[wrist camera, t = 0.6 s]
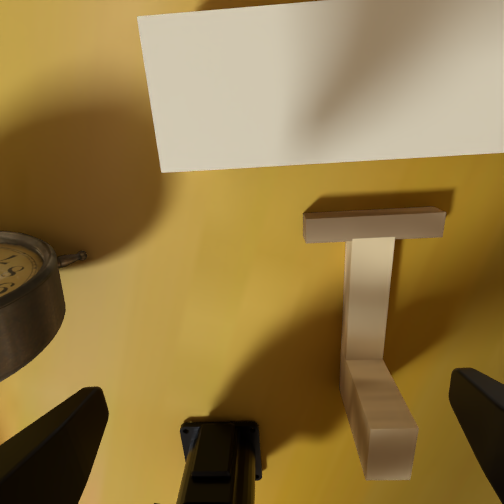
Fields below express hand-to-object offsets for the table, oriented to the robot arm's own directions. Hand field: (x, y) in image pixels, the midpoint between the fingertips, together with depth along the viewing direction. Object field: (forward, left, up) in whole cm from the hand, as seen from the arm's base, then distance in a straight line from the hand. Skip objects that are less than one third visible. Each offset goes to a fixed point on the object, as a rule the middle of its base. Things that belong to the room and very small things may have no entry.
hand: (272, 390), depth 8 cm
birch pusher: (-6, -6, -13) cm, 16 cm away
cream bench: (+8, -6, -13) cm, 17 cm away
